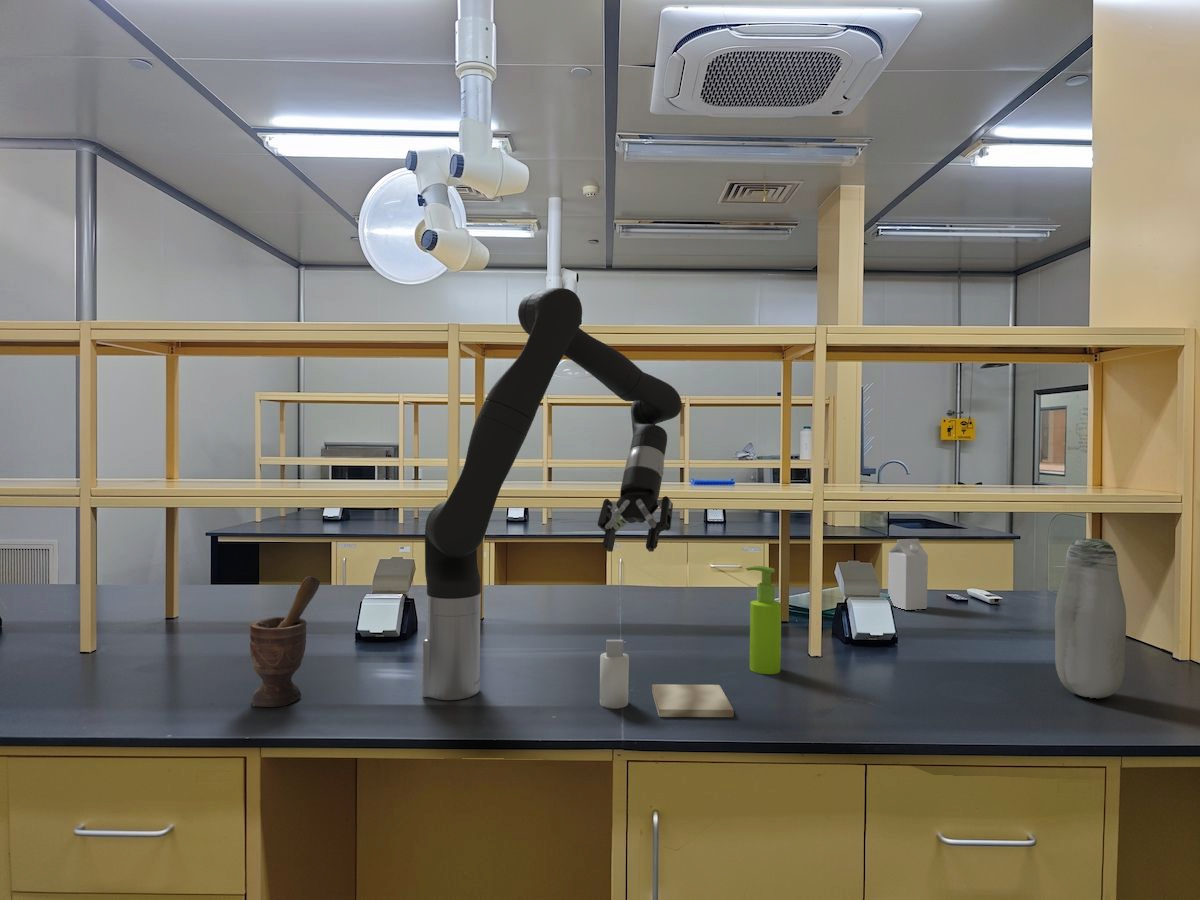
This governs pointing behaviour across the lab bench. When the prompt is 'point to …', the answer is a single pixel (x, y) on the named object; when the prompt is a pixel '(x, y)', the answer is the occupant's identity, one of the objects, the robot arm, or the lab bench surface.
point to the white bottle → (614, 675)
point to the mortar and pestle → (281, 650)
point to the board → (691, 701)
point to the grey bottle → (1090, 621)
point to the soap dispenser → (765, 626)
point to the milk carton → (908, 575)
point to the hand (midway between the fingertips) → (628, 550)
